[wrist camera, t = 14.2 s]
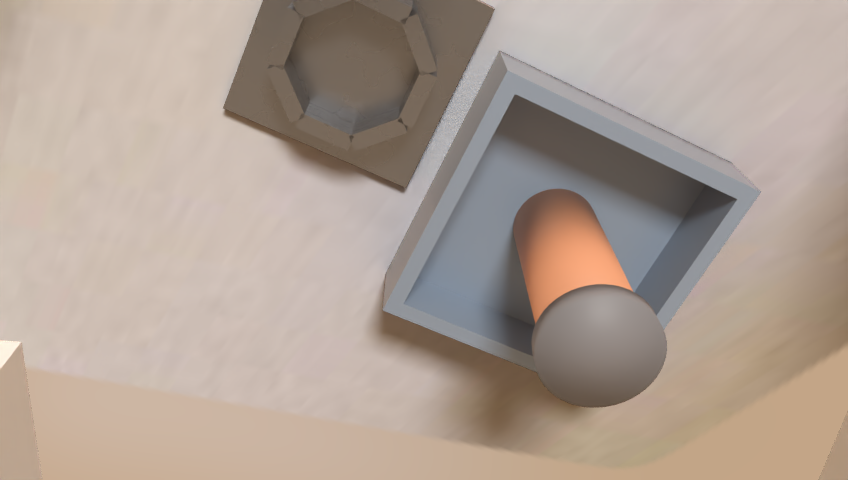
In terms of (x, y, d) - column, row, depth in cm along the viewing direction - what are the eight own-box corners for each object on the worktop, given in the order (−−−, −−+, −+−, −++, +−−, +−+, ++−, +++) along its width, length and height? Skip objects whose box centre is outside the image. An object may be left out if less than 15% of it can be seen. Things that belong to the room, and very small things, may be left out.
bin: (385, 273, 44) (382, 310, 40) (499, 50, 39) (507, 70, 35) (597, 360, 46) (612, 402, 43) (731, 162, 41) (761, 191, 37)
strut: (488, 247, 43) (511, 380, 32) (535, 165, 40) (576, 277, 30) (572, 284, 43) (622, 424, 33) (622, 205, 41) (692, 327, 31)
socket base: (225, 105, 40) (213, 120, 37) (297, -90, 36) (289, -86, 34) (406, 184, 42) (405, 202, 39) (493, 7, 38) (498, 16, 35)
